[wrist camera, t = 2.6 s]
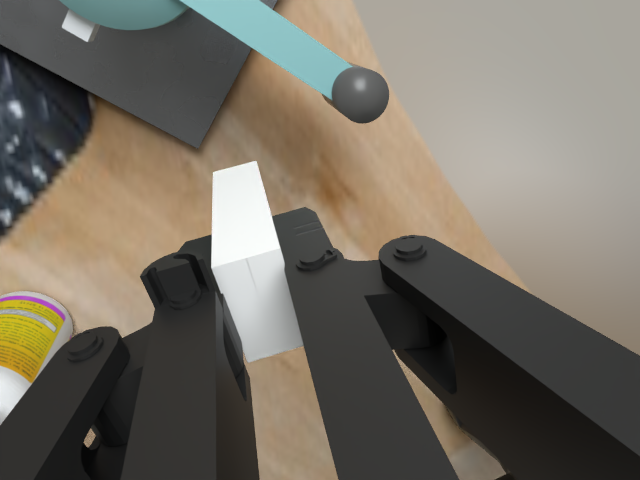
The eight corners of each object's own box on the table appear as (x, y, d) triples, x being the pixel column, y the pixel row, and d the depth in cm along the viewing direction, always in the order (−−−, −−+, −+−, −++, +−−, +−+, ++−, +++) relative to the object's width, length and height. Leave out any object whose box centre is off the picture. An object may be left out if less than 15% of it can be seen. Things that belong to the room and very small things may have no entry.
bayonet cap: (-2, -16, 22) (-53, -24, 18) (79, -244, 19) (41, -317, 15) (315, 166, 29) (331, 191, 25) (407, 19, 26) (443, 19, 22)
